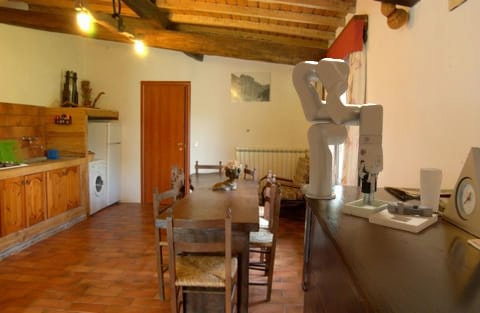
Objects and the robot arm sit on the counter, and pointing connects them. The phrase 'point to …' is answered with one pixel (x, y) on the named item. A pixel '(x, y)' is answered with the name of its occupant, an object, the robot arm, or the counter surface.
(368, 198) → the lock pin
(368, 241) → the counter surface
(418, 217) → the pulley board
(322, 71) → the robot arm
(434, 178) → the drinking glass
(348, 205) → the tray
